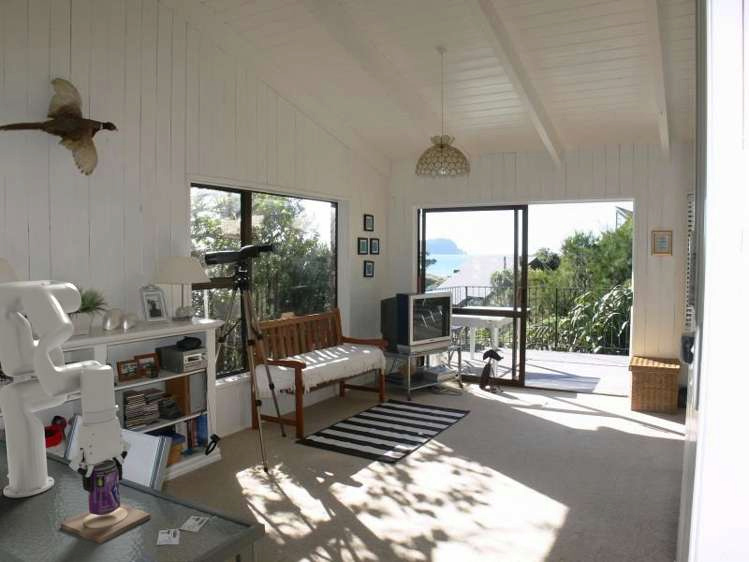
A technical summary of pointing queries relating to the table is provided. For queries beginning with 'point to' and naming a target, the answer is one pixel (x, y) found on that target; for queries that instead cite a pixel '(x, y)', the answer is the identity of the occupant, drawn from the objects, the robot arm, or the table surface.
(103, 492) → the beverage can
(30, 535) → the table surface
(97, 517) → the board
